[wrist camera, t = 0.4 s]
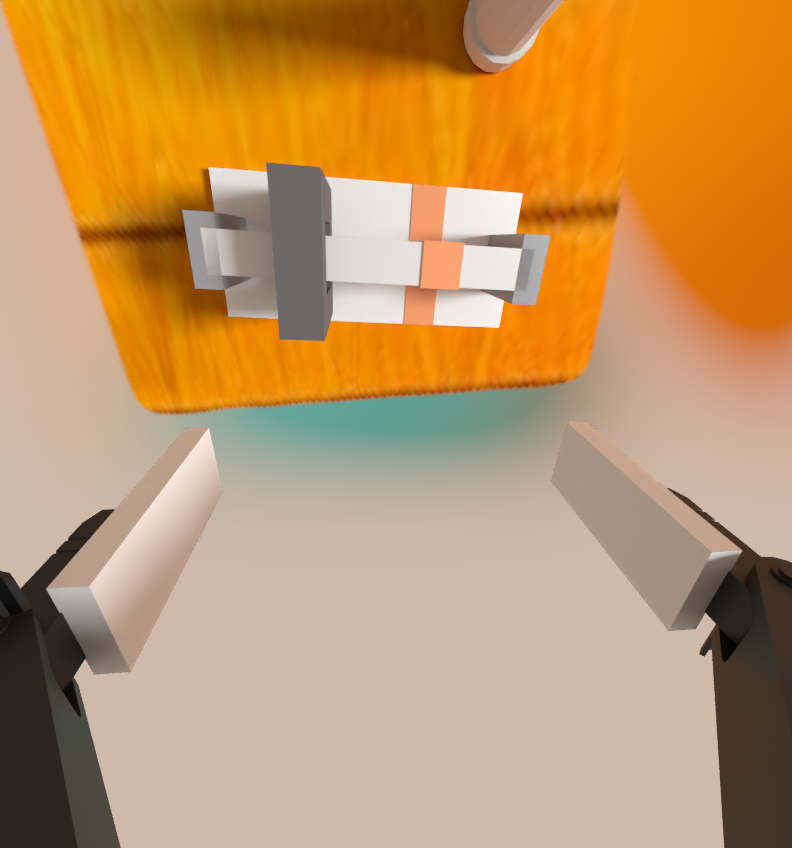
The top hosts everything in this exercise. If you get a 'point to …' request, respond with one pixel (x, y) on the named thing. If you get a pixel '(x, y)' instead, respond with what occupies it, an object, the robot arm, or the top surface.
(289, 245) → the collar
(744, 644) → the robot arm
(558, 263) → the top surface
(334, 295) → the rail
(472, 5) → the pipe
